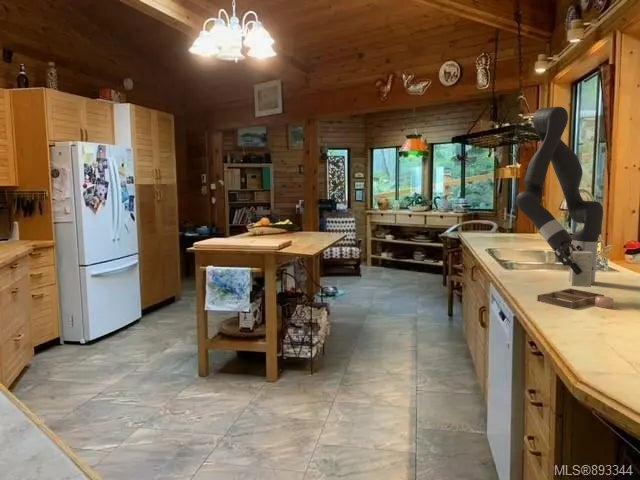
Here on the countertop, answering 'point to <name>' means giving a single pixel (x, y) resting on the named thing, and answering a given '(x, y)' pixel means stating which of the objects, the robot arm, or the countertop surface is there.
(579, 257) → the skincare box
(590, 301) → the walnut organizer
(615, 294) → the countertop surface
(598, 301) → the pinkish brown rounded piece
